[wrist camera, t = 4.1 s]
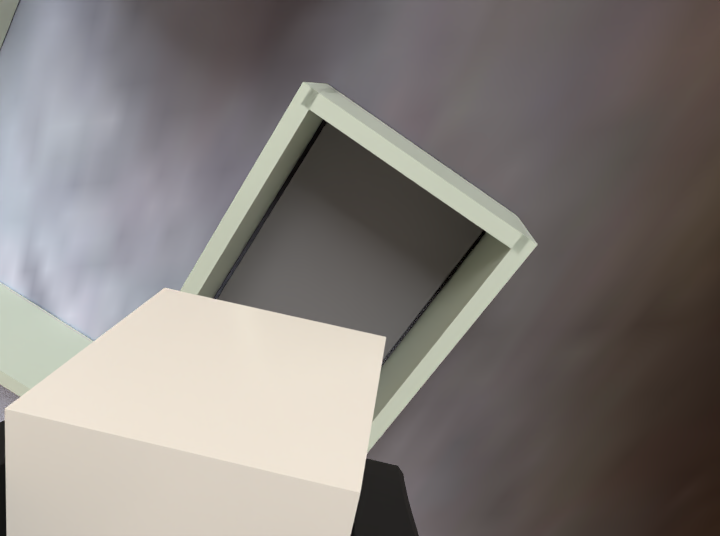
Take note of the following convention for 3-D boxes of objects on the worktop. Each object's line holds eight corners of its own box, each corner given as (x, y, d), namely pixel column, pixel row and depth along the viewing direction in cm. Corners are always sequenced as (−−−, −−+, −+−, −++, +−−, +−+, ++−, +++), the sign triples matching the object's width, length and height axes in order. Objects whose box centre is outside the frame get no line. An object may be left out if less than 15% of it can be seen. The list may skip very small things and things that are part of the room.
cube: (385, 337, 10) (360, 493, 6) (345, 519, 11) (302, 744, 7) (164, 287, 10) (4, 408, 6) (149, 472, 11) (8, 666, 7)
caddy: (516, 216, 15) (537, 244, 12) (303, 486, 19) (281, 557, 16) (45, -112, 14) (-51, -164, 11) (-89, 238, 17) (-190, 267, 15)
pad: (486, 222, 15) (487, 224, 15) (299, 464, 18) (297, 471, 18) (332, 115, 15) (330, 116, 15) (167, 381, 18) (163, 386, 18)
